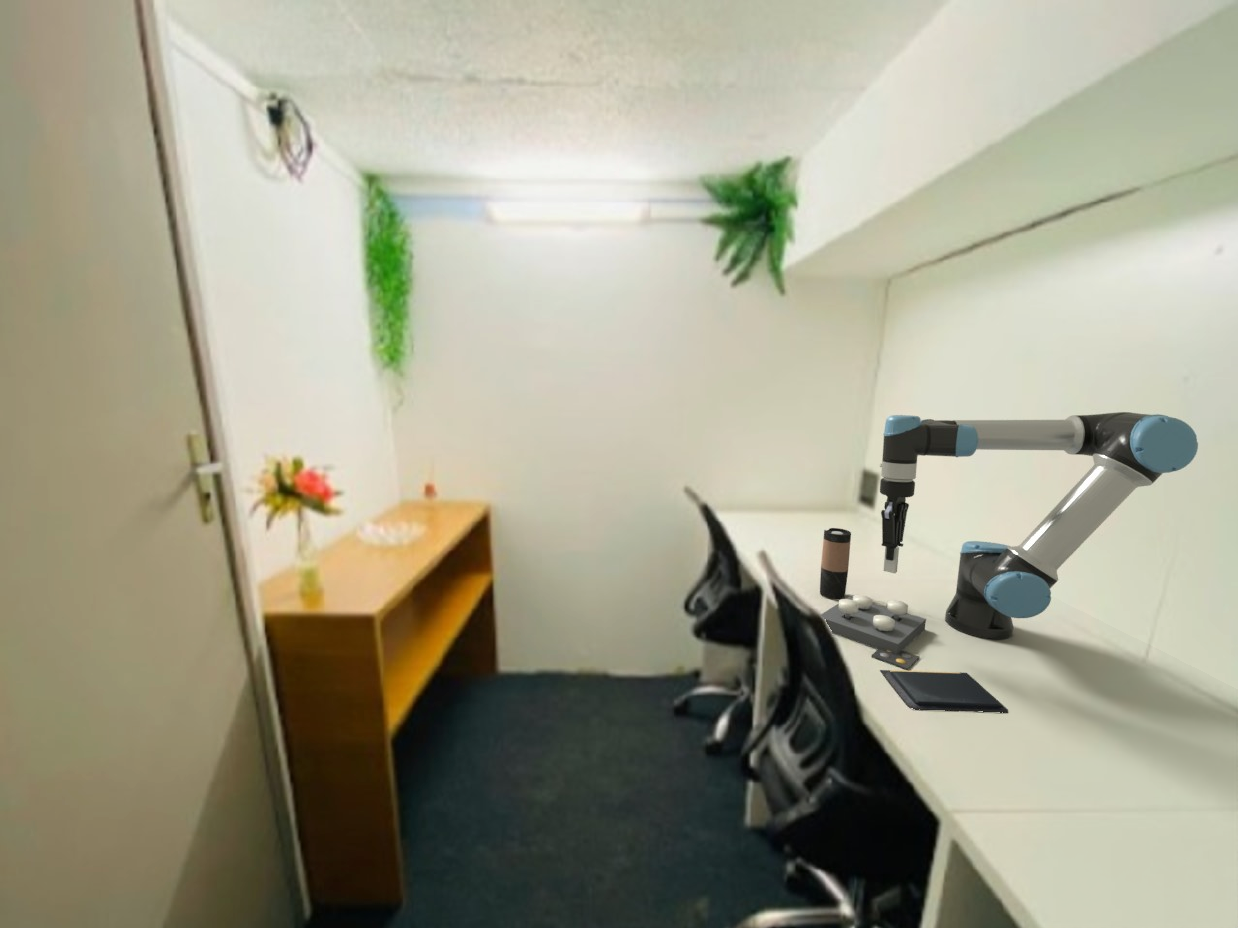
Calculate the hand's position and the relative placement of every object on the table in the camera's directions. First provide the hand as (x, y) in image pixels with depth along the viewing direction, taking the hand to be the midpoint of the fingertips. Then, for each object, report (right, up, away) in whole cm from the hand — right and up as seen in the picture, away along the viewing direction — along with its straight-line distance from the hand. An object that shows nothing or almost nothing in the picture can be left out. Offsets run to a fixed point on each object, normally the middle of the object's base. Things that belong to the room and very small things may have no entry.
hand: (890, 571), depth 135 cm
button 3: (-1, -15, +14) cm, 20 cm away
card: (-3, -19, -7) cm, 20 cm away
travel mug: (-3, -13, +29) cm, 32 cm away
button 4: (-8, -14, +7) cm, 18 cm away
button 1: (+5, -15, +7) cm, 17 cm away
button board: (-1, -17, +7) cm, 18 cm away
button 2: (-2, -17, +1) cm, 17 cm away
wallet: (0, -22, -20) cm, 30 cm away
